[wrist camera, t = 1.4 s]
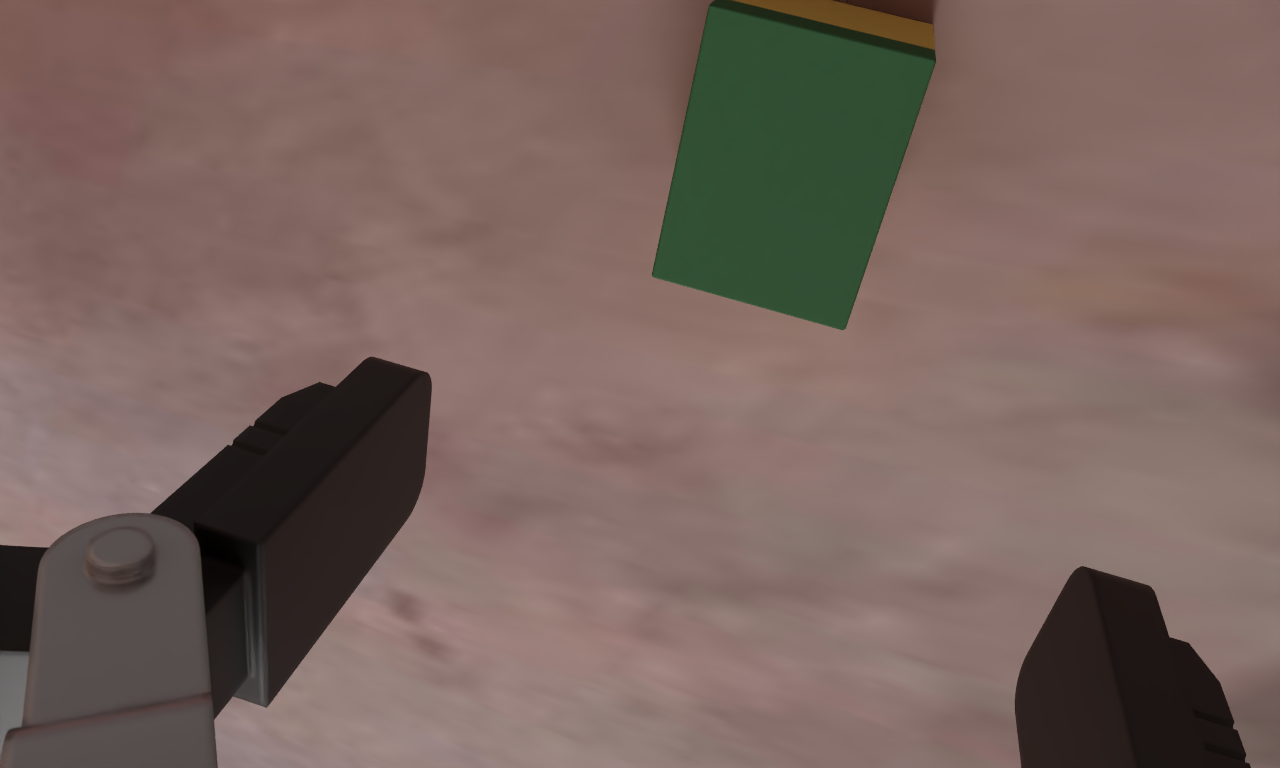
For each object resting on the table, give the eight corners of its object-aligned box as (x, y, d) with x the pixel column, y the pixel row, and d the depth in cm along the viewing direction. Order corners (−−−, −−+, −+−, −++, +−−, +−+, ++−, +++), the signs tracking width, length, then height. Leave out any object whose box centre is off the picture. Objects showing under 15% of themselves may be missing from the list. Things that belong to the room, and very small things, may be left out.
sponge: (740, -23, 22) (709, 3, 19) (933, 24, 22) (936, 59, 19) (686, 218, 26) (651, 277, 22) (854, 264, 25) (844, 331, 22)
